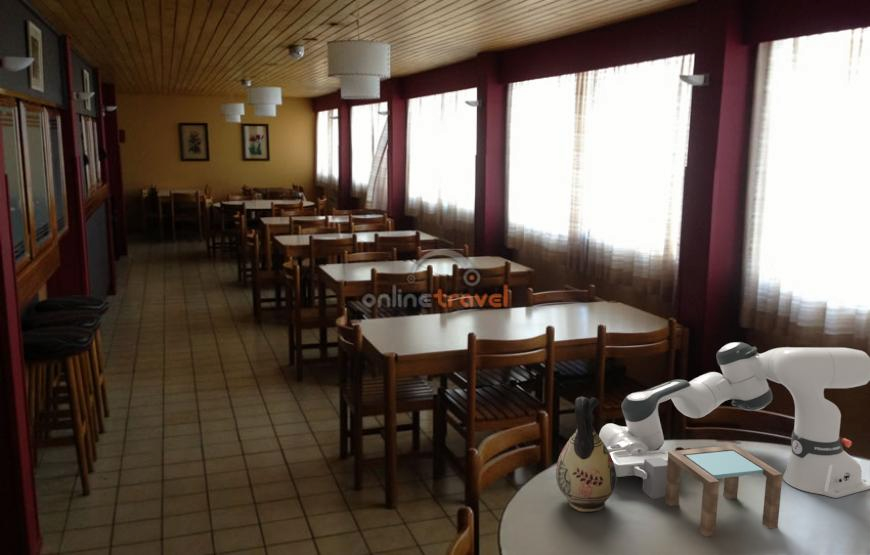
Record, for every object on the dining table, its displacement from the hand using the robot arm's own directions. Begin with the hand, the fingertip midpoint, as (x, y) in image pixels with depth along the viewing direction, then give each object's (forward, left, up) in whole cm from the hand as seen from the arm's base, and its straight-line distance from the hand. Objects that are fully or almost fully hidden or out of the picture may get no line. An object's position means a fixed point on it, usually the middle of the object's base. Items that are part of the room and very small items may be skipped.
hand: (658, 475), depth 197 cm
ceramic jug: (+22, +1, -6) cm, 23 cm away
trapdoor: (-10, +13, +7) cm, 18 cm away
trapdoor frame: (-10, +13, -6) cm, 17 cm away
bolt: (-20, -14, -6) cm, 25 cm away
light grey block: (0, -1, -6) cm, 6 cm away
